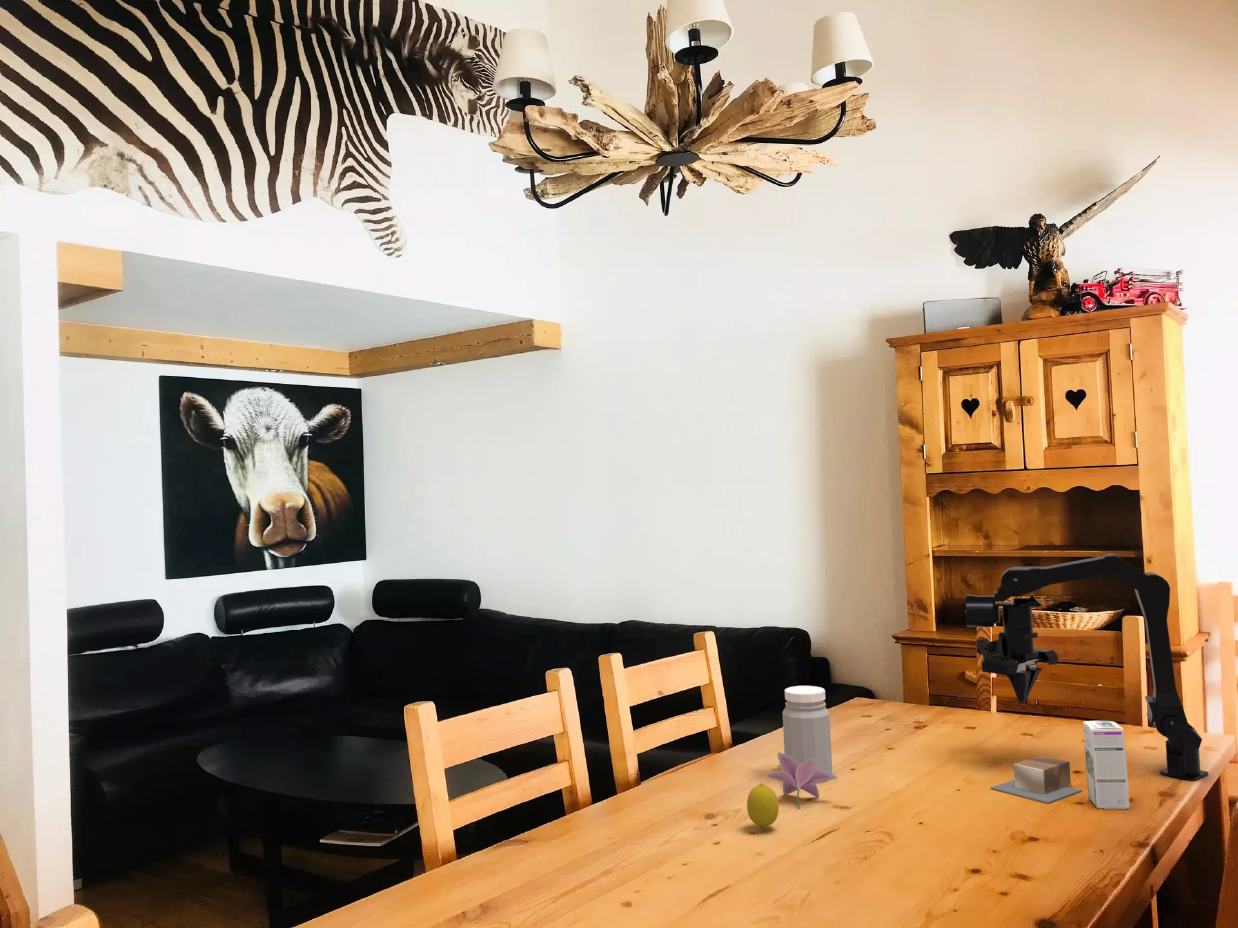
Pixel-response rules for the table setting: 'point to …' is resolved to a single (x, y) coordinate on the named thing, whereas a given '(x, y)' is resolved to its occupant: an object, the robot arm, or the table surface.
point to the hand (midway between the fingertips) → (1022, 702)
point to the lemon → (762, 805)
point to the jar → (807, 726)
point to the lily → (799, 775)
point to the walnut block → (1042, 774)
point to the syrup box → (1106, 765)
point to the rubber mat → (1046, 798)
